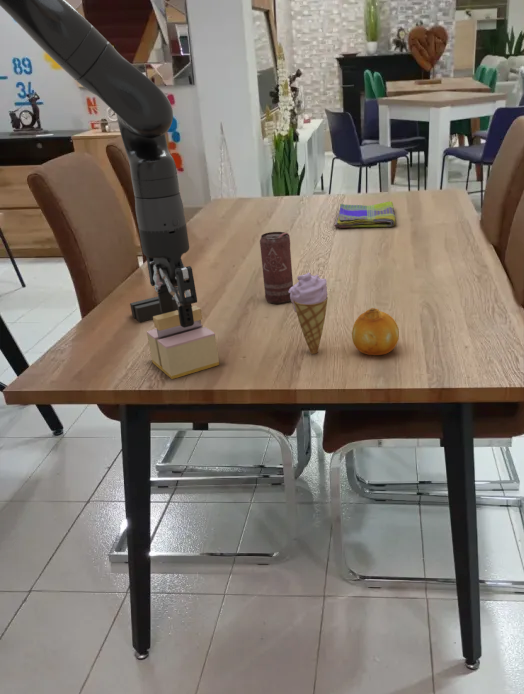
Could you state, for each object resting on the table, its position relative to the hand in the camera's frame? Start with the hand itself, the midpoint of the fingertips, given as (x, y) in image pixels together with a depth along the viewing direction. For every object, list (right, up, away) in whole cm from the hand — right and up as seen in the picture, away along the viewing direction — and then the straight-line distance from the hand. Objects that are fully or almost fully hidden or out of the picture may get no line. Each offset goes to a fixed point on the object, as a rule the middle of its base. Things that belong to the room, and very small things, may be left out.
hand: (177, 318), depth 118 cm
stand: (-10, +5, +27) cm, 29 cm away
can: (+16, +9, +31) cm, 36 cm away
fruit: (+34, -5, +5) cm, 35 cm away
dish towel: (+38, +43, +89) cm, 106 cm away
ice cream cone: (+23, -5, +6) cm, 24 cm away
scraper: (+1, -7, +4) cm, 8 cm away
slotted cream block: (+1, -7, +4) cm, 8 cm away
